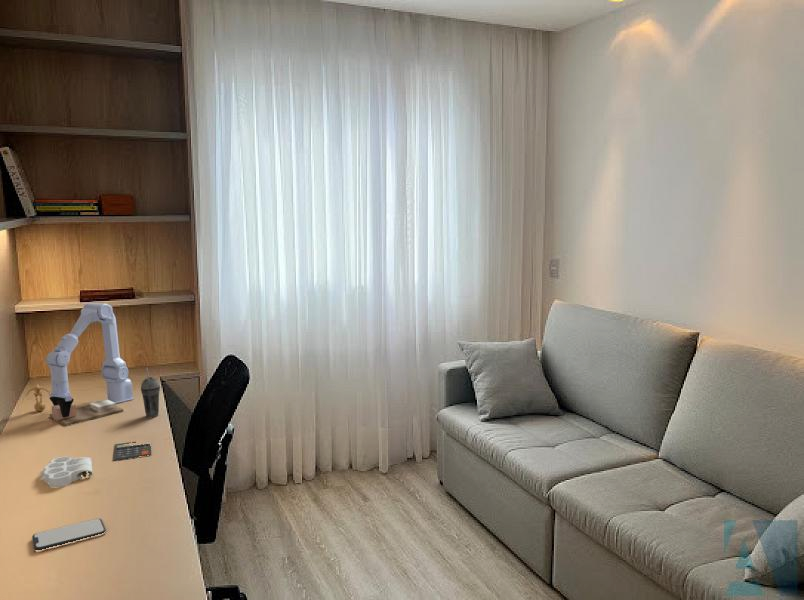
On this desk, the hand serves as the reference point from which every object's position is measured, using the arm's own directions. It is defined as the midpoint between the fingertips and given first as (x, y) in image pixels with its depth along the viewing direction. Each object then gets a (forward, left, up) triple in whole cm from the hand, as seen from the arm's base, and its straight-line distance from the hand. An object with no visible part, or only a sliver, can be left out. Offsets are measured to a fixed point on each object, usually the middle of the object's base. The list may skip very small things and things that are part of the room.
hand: (62, 415), depth 246 cm
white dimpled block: (+20, +54, -3) cm, 58 cm away
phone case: (+35, +93, -3) cm, 99 cm away
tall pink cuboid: (-1, 0, -1) cm, 1 cm away
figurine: (+2, -18, -2) cm, 18 cm away
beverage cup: (-25, +22, -2) cm, 33 cm away
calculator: (-3, +50, -3) cm, 51 cm away
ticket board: (-9, 0, -2) cm, 9 cm away
